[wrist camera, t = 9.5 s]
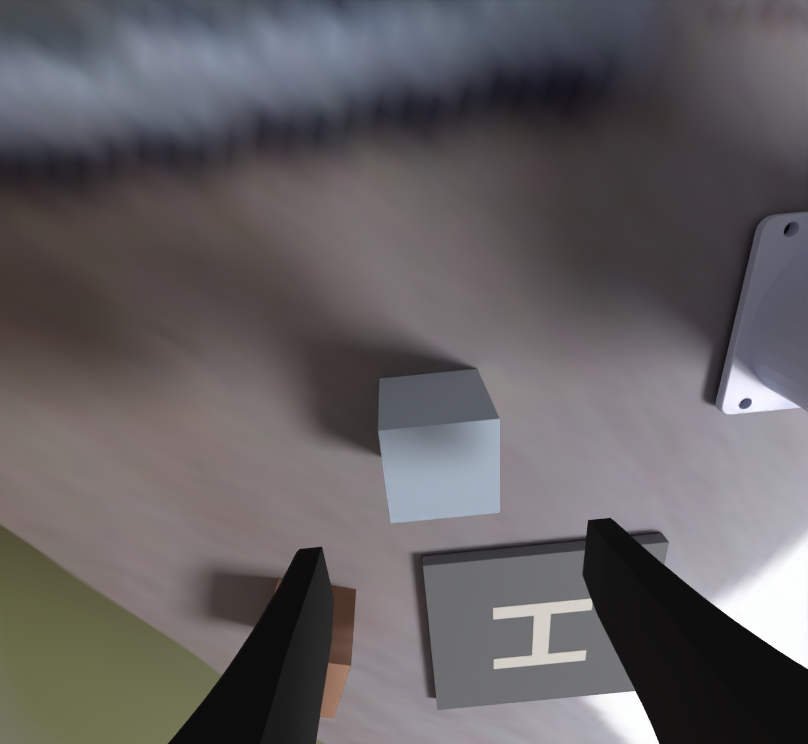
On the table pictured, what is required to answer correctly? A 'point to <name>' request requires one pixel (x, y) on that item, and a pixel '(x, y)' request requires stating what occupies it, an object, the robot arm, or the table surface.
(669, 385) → the table surface
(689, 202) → the table surface
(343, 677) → the terracotta block
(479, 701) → the board
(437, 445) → the pale blue cube
